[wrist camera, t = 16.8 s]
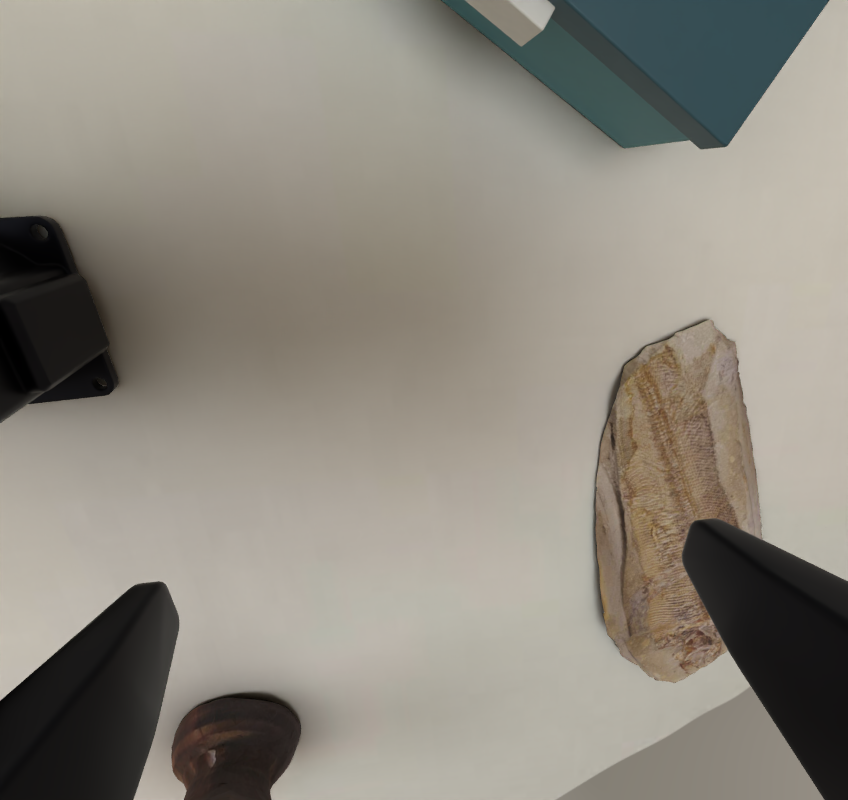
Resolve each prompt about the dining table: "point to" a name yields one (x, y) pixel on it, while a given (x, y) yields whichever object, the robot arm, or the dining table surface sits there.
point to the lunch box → (650, 58)
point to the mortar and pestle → (234, 749)
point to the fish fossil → (670, 495)
